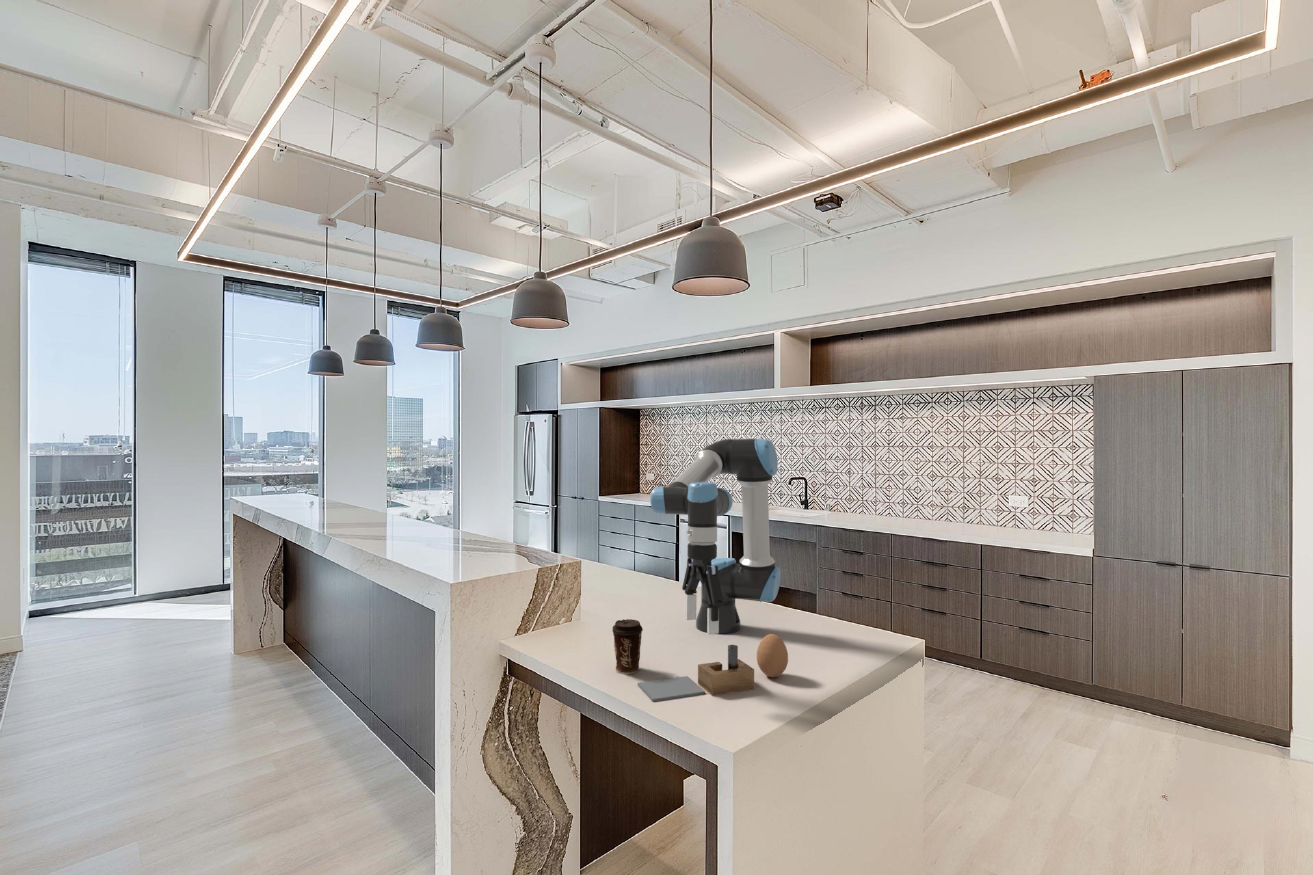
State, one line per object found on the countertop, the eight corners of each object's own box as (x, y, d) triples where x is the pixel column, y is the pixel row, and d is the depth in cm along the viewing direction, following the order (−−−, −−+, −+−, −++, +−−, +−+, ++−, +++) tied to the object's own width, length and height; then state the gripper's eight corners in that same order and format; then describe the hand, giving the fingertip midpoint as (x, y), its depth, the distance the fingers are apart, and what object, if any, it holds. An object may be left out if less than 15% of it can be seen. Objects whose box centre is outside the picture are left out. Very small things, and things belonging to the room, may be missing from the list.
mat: (687, 678, 162) (687, 675, 162) (705, 693, 152) (705, 691, 152) (637, 685, 157) (637, 682, 157) (652, 701, 147) (652, 699, 147)
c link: (738, 677, 163) (739, 659, 163) (754, 688, 155) (754, 669, 155) (697, 683, 158) (698, 664, 159) (711, 695, 151) (711, 674, 151)
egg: (753, 671, 168) (753, 629, 168) (783, 670, 169) (783, 629, 169) (760, 682, 160) (760, 639, 160) (791, 681, 160) (792, 638, 161)
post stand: (735, 682, 160) (735, 643, 160) (740, 686, 157) (740, 647, 157) (724, 683, 158) (725, 645, 159) (730, 688, 156) (730, 648, 156)
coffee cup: (611, 664, 172) (612, 618, 173) (641, 663, 173) (641, 617, 173) (612, 675, 164) (612, 626, 164) (643, 675, 164) (643, 626, 165)
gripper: (670, 537, 167) (670, 615, 167) (709, 550, 144) (708, 641, 143) (696, 536, 170) (695, 613, 169) (738, 549, 146) (737, 638, 146)
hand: (701, 626), depth 156 cm, fingers open, 13 cm apart
